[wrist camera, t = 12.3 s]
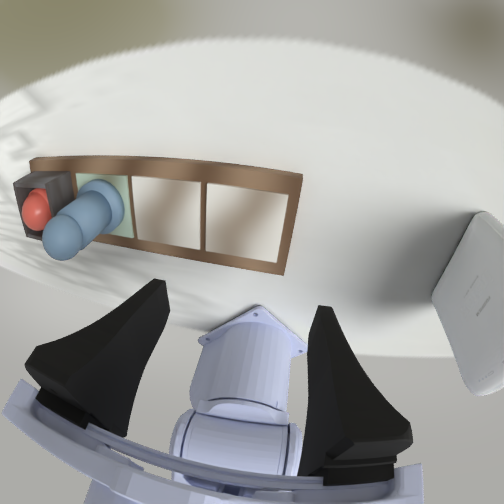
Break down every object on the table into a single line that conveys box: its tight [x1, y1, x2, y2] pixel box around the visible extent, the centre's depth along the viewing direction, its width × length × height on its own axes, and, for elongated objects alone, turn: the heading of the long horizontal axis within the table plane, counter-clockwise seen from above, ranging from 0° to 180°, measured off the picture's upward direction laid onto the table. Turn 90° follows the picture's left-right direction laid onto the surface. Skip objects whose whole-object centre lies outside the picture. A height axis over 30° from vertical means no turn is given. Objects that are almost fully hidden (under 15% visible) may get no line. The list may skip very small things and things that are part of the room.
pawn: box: [42, 179, 125, 261], centre depth 17 cm, size 5×5×7 cm
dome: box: [22, 188, 52, 231], centre depth 19 cm, size 4×4×4 cm
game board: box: [13, 156, 303, 276], centre depth 19 cm, size 26×8×4 cm, turn 84°
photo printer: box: [431, 212, 504, 396], centre depth 14 cm, size 10×4×12 cm, turn 170°
